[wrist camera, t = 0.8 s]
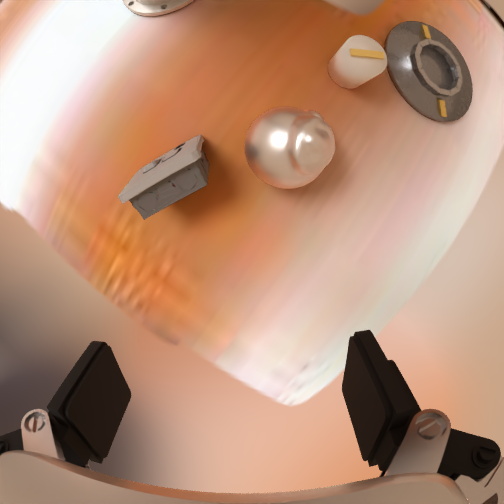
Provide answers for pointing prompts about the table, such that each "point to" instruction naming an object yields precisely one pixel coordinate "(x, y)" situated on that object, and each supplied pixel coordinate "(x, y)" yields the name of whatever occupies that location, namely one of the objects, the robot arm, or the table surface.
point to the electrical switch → (168, 178)
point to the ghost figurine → (289, 146)
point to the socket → (428, 71)
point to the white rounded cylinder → (357, 62)
